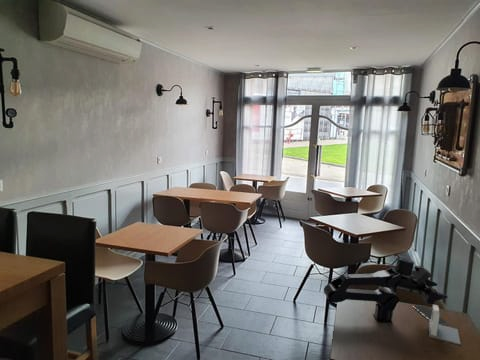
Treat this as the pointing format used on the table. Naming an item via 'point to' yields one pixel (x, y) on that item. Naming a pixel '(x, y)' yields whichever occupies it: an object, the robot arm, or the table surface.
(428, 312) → the smartphone
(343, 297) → the robot arm
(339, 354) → the table surface
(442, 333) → the mat
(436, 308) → the tile
